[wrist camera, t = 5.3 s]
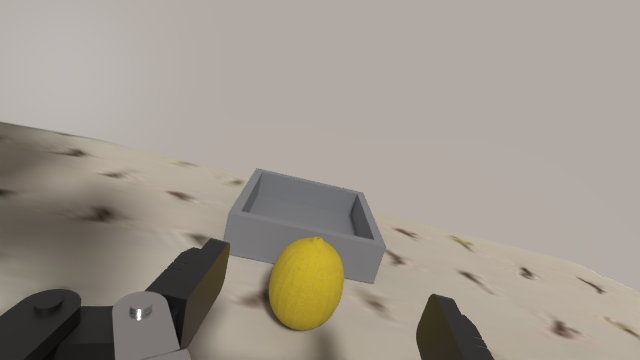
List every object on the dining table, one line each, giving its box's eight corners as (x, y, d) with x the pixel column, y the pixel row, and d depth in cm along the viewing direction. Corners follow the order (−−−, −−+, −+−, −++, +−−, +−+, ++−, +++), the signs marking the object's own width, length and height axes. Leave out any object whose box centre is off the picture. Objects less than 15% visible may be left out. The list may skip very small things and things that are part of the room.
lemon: (305, 296, 29) (326, 218, 27) (341, 342, 25) (371, 254, 23) (248, 310, 26) (267, 222, 24) (280, 365, 22) (307, 265, 20)
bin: (221, 253, 33) (228, 213, 31) (250, 196, 48) (256, 168, 46) (373, 283, 34) (385, 246, 33) (354, 219, 49) (363, 192, 48)
